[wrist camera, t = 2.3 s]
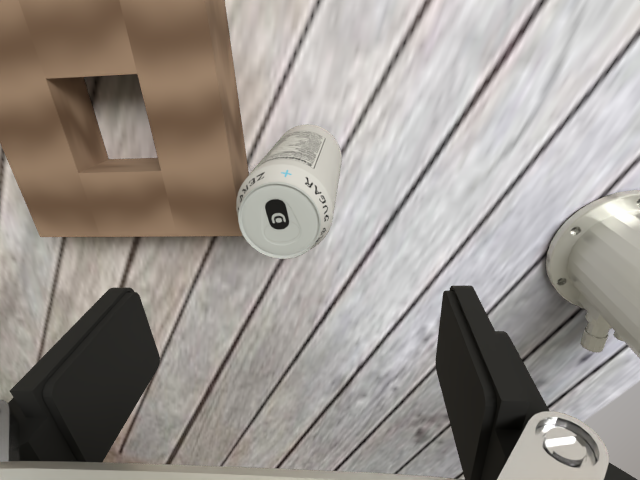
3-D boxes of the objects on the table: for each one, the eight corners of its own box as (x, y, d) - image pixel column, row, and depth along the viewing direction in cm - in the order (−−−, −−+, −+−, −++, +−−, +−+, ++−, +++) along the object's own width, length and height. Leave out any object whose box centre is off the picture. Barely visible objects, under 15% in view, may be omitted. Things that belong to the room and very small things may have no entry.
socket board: (254, 216, 38) (242, 236, 34) (71, 218, 41) (40, 236, 37) (221, -21, 30) (199, -32, 26) (-11, -3, 32) (-65, -10, 28)
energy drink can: (285, 191, 37) (243, 272, 24) (270, 128, 34) (214, 181, 21) (346, 182, 36) (339, 261, 23) (336, 116, 33) (320, 163, 20)
